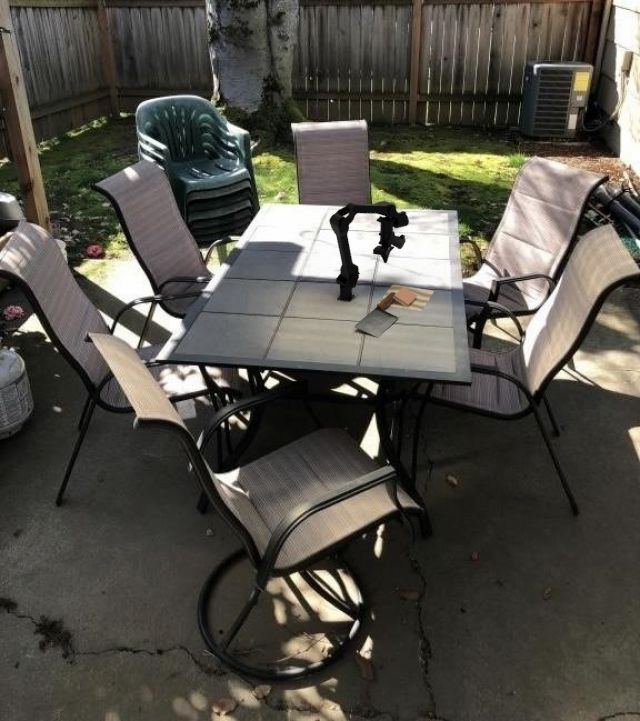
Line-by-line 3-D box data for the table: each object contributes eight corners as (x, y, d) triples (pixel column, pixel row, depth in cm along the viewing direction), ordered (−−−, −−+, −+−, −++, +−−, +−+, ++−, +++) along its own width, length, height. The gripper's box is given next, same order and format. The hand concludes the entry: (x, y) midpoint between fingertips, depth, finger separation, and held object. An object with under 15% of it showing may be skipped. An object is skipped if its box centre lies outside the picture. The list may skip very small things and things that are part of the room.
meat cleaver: (378, 337, 265) (378, 329, 263) (353, 330, 270) (353, 322, 268) (413, 303, 289) (413, 295, 287) (390, 298, 294) (390, 290, 292)
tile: (415, 298, 293) (406, 307, 286) (402, 289, 294) (392, 297, 287) (417, 295, 292) (408, 304, 285) (403, 286, 293) (394, 294, 286)
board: (421, 313, 283) (421, 311, 282) (377, 306, 290) (377, 304, 289) (434, 292, 300) (434, 290, 299) (392, 286, 307) (392, 284, 306)
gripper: (397, 239, 283) (395, 273, 291) (410, 225, 297) (408, 258, 305) (372, 236, 287) (372, 269, 295) (387, 222, 301) (385, 254, 309)
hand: (385, 262), depth 301 cm, fingers closed
